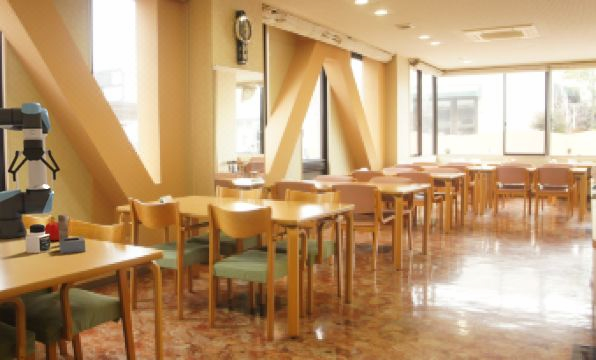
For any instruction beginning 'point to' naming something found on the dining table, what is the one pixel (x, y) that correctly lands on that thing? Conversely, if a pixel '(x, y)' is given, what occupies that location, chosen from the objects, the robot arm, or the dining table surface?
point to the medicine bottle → (37, 239)
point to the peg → (63, 226)
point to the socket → (72, 245)
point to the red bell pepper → (52, 230)
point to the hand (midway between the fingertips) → (35, 188)
